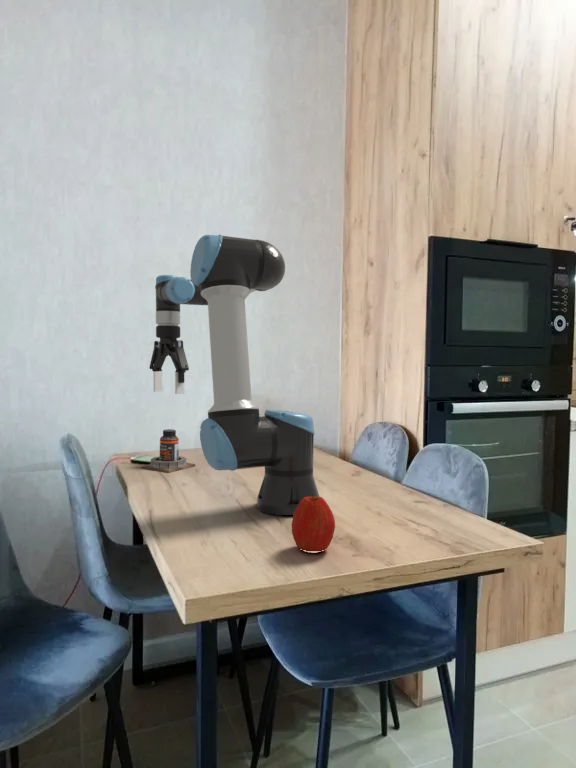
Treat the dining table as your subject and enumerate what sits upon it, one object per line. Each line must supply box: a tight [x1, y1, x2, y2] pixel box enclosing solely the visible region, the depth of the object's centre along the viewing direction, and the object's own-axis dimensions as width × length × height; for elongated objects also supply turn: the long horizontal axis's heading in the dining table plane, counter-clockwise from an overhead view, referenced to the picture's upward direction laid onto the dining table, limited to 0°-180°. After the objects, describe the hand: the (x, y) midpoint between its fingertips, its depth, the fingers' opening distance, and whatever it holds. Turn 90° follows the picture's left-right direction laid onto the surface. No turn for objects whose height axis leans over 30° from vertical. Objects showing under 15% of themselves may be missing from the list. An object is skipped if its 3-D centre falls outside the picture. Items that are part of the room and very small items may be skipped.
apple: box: [291, 495, 336, 551], centre depth 102 cm, size 8×8×11 cm
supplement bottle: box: [159, 428, 180, 462], centre depth 174 cm, size 6×6×11 cm
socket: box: [140, 455, 196, 474], centre depth 174 cm, size 12×12×3 cm
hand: (168, 392), depth 172 cm, fingers open, 13 cm apart
